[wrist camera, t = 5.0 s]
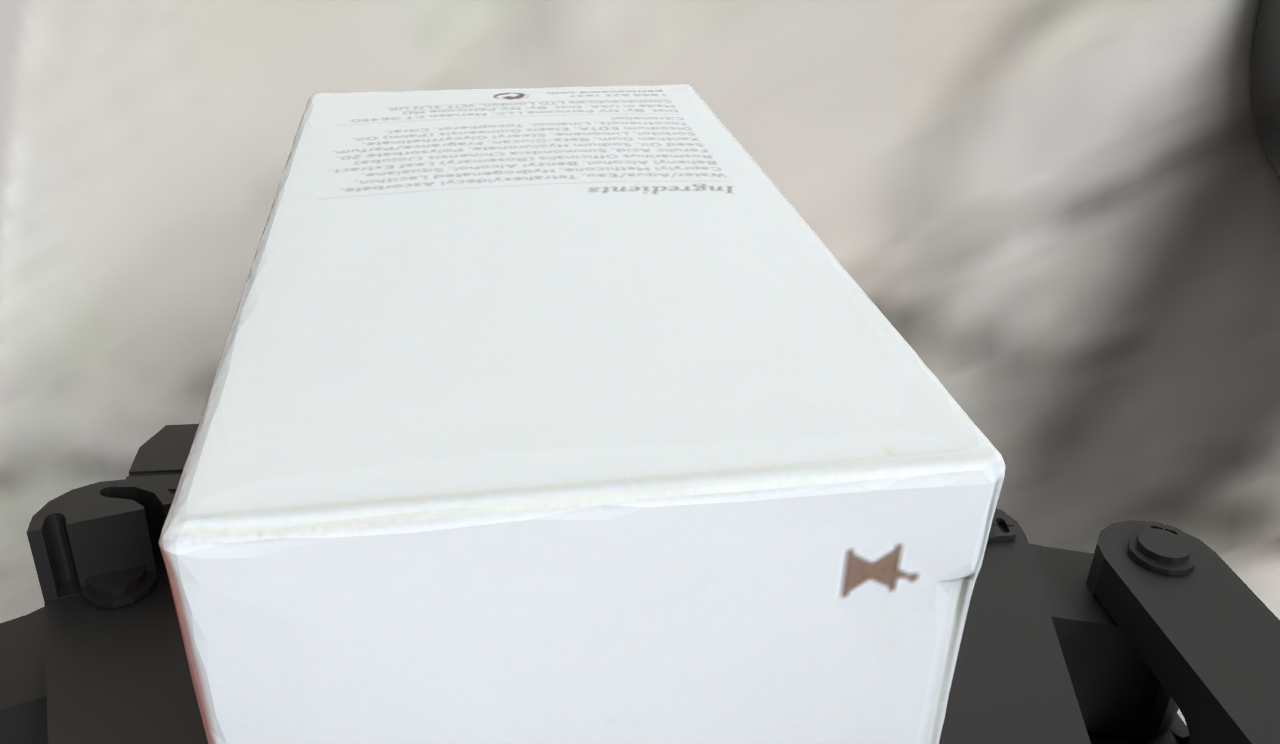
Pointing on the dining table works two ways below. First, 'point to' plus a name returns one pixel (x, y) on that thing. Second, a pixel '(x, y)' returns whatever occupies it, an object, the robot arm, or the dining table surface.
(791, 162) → the dining table surface
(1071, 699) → the robot arm
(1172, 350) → the dining table surface
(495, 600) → the small box
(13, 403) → the dining table surface
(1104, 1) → the dining table surface
